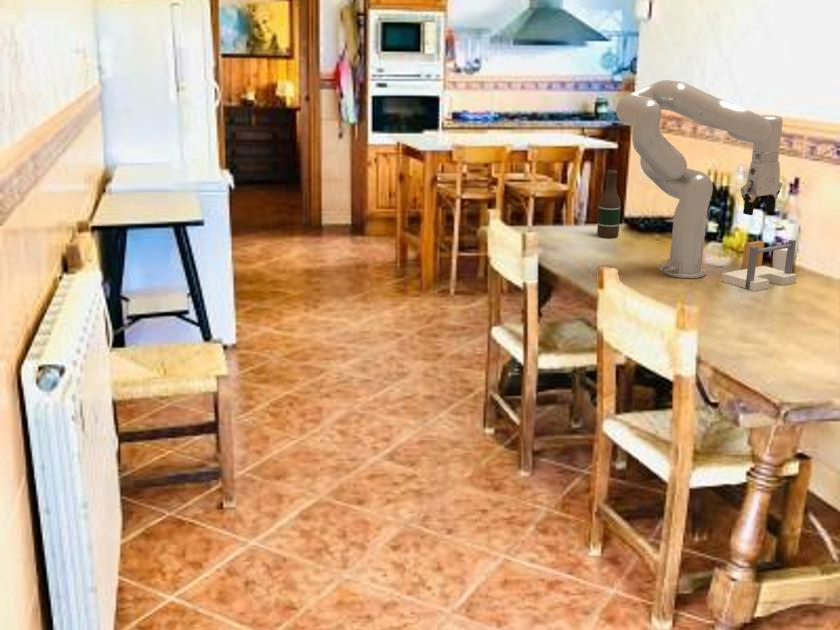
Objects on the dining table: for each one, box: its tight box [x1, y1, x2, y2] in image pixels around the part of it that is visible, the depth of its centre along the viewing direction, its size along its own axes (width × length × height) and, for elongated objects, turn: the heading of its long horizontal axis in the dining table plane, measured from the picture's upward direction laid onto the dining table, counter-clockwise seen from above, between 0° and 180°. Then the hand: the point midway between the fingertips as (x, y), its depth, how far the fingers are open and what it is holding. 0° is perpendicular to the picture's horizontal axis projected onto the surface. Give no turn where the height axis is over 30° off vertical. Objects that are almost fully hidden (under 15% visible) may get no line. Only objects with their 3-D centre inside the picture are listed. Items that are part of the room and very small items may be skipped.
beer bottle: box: [596, 169, 621, 240], centre depth 318 cm, size 8×8×24 cm
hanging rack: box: [721, 239, 798, 292], centre depth 262 cm, size 18×12×12 cm, turn 120°
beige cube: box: [772, 248, 798, 271], centre depth 277 cm, size 7×7×7 cm
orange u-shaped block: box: [741, 240, 765, 270], centre depth 278 cm, size 2×7×8 cm, turn 120°
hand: (758, 212), depth 274 cm, fingers open, 9 cm apart
